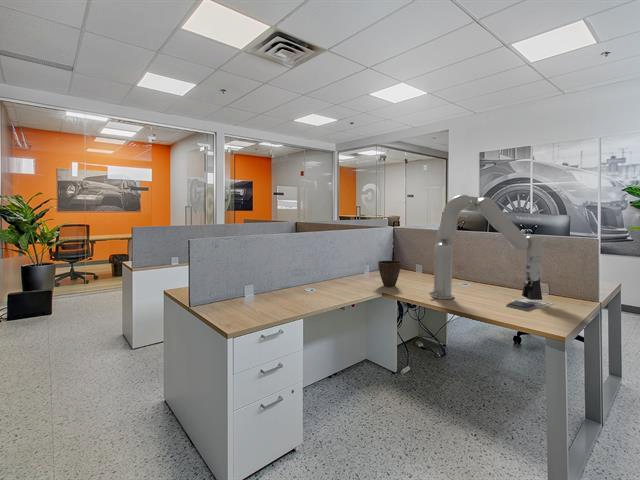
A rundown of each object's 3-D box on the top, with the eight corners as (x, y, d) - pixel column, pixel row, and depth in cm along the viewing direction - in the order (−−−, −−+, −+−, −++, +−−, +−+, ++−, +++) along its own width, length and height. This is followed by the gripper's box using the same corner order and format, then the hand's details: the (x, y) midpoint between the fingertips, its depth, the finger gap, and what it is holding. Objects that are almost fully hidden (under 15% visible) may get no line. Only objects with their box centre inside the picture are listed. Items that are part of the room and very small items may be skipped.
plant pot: (374, 286, 219) (374, 262, 218) (383, 282, 231) (383, 259, 230) (395, 289, 211) (395, 264, 209) (404, 285, 223) (404, 261, 222)
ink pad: (526, 311, 163) (527, 307, 163) (506, 306, 172) (506, 303, 172) (536, 307, 169) (536, 304, 169) (516, 303, 177) (516, 300, 177)
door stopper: (542, 300, 173) (543, 277, 172) (530, 299, 173) (531, 277, 172) (533, 295, 182) (534, 274, 181) (521, 295, 182) (522, 274, 181)
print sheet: (540, 308, 168) (540, 307, 168) (510, 301, 181) (510, 300, 181) (552, 303, 175) (552, 303, 175) (522, 297, 188) (522, 297, 188)
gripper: (532, 261, 168) (531, 296, 170) (548, 258, 177) (547, 291, 179) (517, 259, 174) (516, 293, 176) (533, 256, 184) (532, 289, 185)
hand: (531, 292), depth 177 cm, fingers closed on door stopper, 5 cm apart
